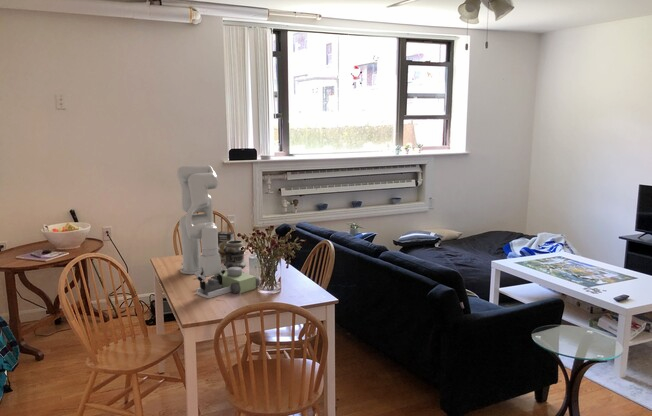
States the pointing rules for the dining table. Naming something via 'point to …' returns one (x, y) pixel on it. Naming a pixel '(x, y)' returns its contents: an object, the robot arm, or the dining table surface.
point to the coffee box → (224, 242)
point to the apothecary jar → (234, 254)
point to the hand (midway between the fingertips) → (211, 286)
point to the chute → (211, 285)
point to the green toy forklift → (233, 283)
